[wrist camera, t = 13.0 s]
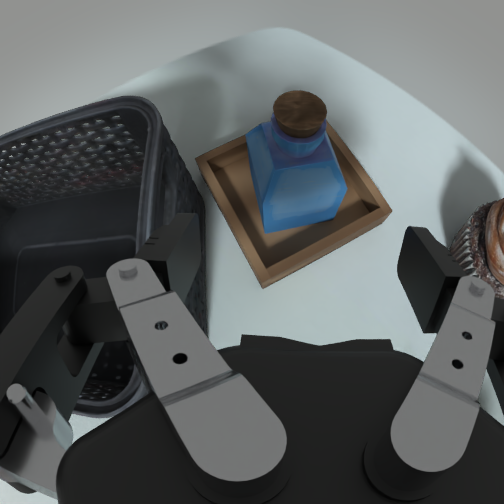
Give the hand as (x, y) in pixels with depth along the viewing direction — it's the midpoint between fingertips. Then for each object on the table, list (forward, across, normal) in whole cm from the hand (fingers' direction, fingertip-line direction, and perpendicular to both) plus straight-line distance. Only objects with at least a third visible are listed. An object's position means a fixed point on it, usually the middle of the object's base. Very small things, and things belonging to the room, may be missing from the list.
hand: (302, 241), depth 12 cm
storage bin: (+11, +21, +12) cm, 27 cm away
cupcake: (+14, -20, +9) cm, 26 cm away
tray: (+18, 0, +5) cm, 18 cm away
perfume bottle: (+17, 0, +4) cm, 18 cm away
